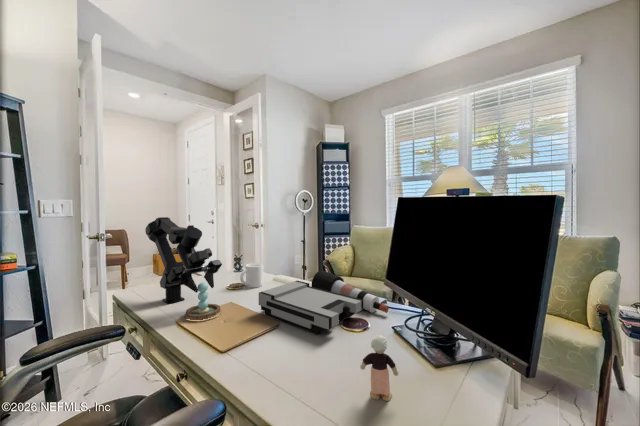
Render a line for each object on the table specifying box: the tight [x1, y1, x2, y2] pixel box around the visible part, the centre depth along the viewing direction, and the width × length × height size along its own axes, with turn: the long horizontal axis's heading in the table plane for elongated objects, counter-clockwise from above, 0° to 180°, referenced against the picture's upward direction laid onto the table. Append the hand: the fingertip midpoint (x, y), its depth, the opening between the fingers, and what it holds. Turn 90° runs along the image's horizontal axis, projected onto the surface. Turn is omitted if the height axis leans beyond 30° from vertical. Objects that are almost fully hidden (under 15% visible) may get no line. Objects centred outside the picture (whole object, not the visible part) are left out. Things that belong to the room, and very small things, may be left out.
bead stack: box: [197, 282, 209, 314], centre depth 99 cm, size 4×4×11 cm
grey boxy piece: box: [258, 280, 364, 336], centre depth 99 cm, size 21×32×8 cm, turn 52°
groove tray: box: [184, 303, 222, 320], centre depth 99 cm, size 12×12×2 cm
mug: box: [239, 262, 264, 289], centre depth 134 cm, size 12×8×10 cm
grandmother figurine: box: [359, 334, 399, 402], centre depth 58 cm, size 8×4×13 cm, turn 87°
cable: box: [311, 269, 390, 314], centre depth 111 cm, size 10×34×10 cm, turn 46°
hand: (205, 289), depth 98 cm, fingers open, 6 cm apart
